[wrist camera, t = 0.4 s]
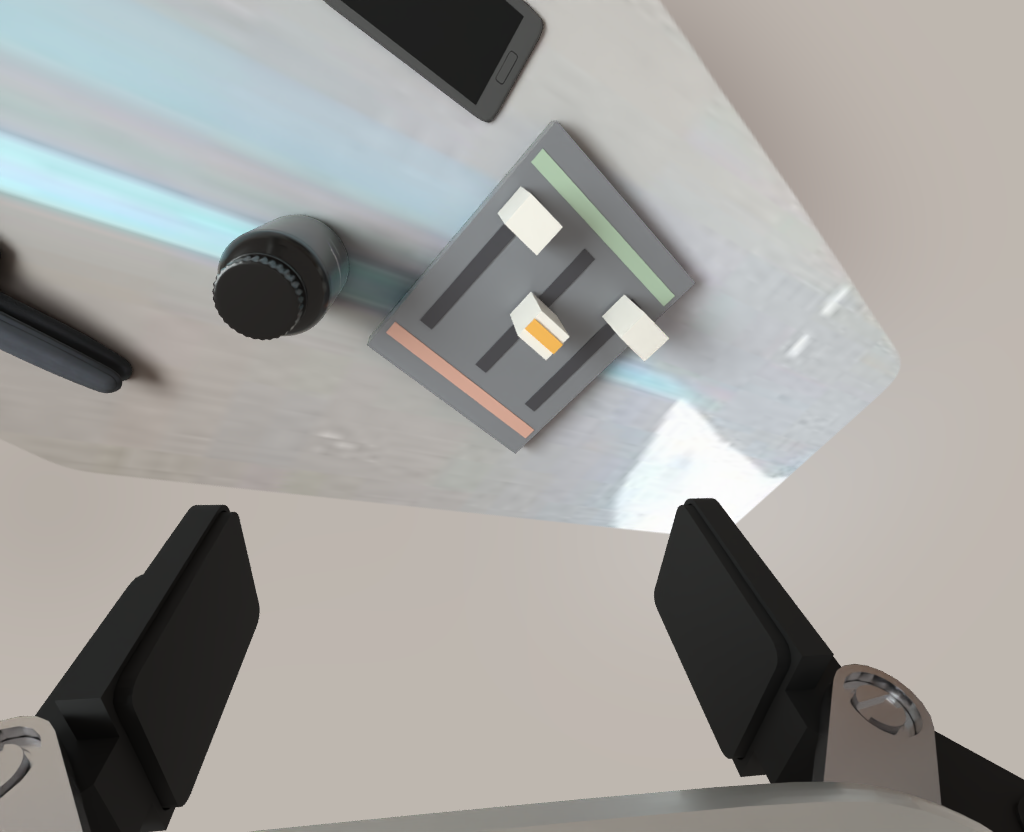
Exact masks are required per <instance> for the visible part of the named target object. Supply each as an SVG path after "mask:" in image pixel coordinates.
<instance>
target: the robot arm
mask: <svg viewBox="0 0 1024 832" xmlns="http://www.w3.org/2000/svg"><path fill="white" fill-rule="evenodd" d="M654 600H655V604H656V607H657V609H658V612H659V614H660V616H661V618H662V621H663V623H664V625H665V627H666V630H667V632H668V634H669V636H670V638H671V641H672V643H673V645H674V647H675V649H676V652H677V653H678V656H679V658H680V660H681V663H682V665H683V667H684V669H685V671H686V674H687V676H688V678H689V680H690V683H691V685H692V687H693V689H694V691H695V694H696V696H697V698H698V700H699V702H700V705H701V707H702V709H703V711H704V713H705V716H706V718H707V720H708V722H709V724H710V727H711V729H712V731H713V733H714V735H715V738H716V740H717V742H718V744H719V746H720V749H721V751H722V752H723V754H724V755H725V756H726V757H727V758H728V759H733V761H734V764H735V766H736V768H737V770H738V772H739V774H740V776H741V777H745V776H756V775H767V777H768V779H769V781H770V783H771V784H757V785H743V786H729V787H714V788H702V789H691V790H680V791H669V792H658V793H648V794H635V795H625V796H614V797H602V798H591V799H579V800H569V801H559V802H548V803H538V804H526V805H517V806H505V807H494V808H484V809H475V810H474V809H473V810H463V811H453V812H443V813H433V814H421V815H411V816H401V817H391V818H381V819H371V820H361V821H352V822H342V823H332V824H321V825H312V826H302V827H292V828H281V829H272V830H261V831H253V832H1024V780H1023V779H1021V778H1020V777H1018V776H1016V775H1014V774H1013V773H1011V772H1009V771H1007V770H1005V769H1003V768H1001V767H1000V766H998V765H996V764H994V763H992V762H991V761H989V760H986V759H985V758H983V757H981V756H980V755H978V754H976V753H974V752H972V751H970V750H969V749H967V748H965V747H963V746H961V745H959V744H957V743H956V742H954V741H952V740H950V739H948V738H947V737H945V736H943V735H941V734H939V733H937V732H936V731H934V726H933V723H932V720H931V716H930V714H929V713H928V711H927V710H926V708H925V707H924V705H923V703H922V702H921V701H920V700H919V699H918V698H917V697H916V696H915V695H914V694H913V692H912V691H911V690H910V689H908V688H907V687H906V686H904V685H903V684H902V683H900V682H899V681H898V680H897V679H895V678H893V677H892V676H890V675H888V674H886V673H884V672H883V671H880V670H878V669H875V668H872V667H869V666H865V665H859V664H851V665H845V666H843V667H841V666H840V665H839V664H838V662H837V661H836V659H835V658H834V657H833V655H834V654H833V653H832V651H831V650H830V649H829V648H828V646H827V645H826V644H825V642H824V641H823V640H822V638H821V637H820V636H819V634H818V633H817V632H816V630H815V629H814V628H813V626H812V625H811V624H810V622H809V621H808V620H807V619H806V617H805V616H804V615H803V613H802V612H801V611H800V609H799V608H798V607H797V605H796V604H795V603H794V601H793V600H792V599H791V597H790V596H789V595H788V593H787V592H786V591H785V590H784V588H783V587H782V586H781V584H780V583H779V582H778V580H777V579H776V578H775V576H774V575H773V574H772V572H771V571H770V570H769V568H768V567H767V566H766V565H765V563H764V562H763V561H762V559H761V558H760V557H759V555H758V554H757V553H756V551H755V550H754V549H753V547H752V546H751V545H750V543H749V542H748V541H747V540H746V538H745V537H744V535H743V534H742V533H741V531H740V530H739V529H738V528H737V526H736V525H735V524H734V522H733V521H732V520H731V518H730V517H729V516H728V514H727V513H726V512H725V510H724V509H723V508H722V506H721V505H720V504H719V502H718V501H717V500H715V499H713V498H697V499H687V500H686V502H685V503H684V505H681V506H679V507H678V509H677V512H676V515H675V519H674V523H673V526H672V530H671V533H670V537H669V540H668V544H667V547H666V551H665V555H664V558H663V562H662V565H661V569H660V573H659V576H658V580H657V583H656V587H655V591H654ZM258 619H259V603H258V598H257V594H256V589H255V585H254V580H253V576H252V572H251V567H250V563H249V558H248V554H247V550H246V545H245V541H244V537H243V532H242V528H241V524H240V519H239V516H238V514H237V513H236V512H230V511H229V508H228V507H227V506H226V505H195V506H192V507H191V508H190V509H189V510H188V512H187V513H186V514H185V516H184V517H183V519H182V520H181V522H180V523H179V524H178V526H177V527H176V529H175V530H174V532H173V533H172V534H171V536H170V537H169V539H168V540H167V541H166V543H165V544H164V546H163V547H162V549H161V550H160V551H159V553H158V554H157V556H156V557H155V559H154V560H153V561H152V563H151V564H150V566H149V567H148V568H147V570H146V571H145V573H144V574H143V575H140V576H139V577H137V578H135V579H134V580H133V581H132V582H131V584H130V585H129V586H128V587H127V589H126V590H125V591H124V593H123V594H122V596H121V597H120V599H119V600H118V601H117V602H116V604H115V605H114V607H113V608H112V609H111V611H110V612H109V614H108V615H107V617H106V618H105V619H104V621H103V622H102V623H101V625H100V626H99V628H98V629H97V631H96V632H95V633H94V635H93V636H92V637H91V639H90V640H89V642H88V643H87V644H86V646H85V647H84V648H83V650H82V651H81V653H80V654H79V655H78V657H77V658H76V660H75V661H74V662H73V664H72V665H71V666H70V668H69V669H68V671H67V672H66V673H65V675H64V676H63V678H62V679H61V680H60V682H59V683H58V685H57V686H56V687H55V689H54V690H53V691H52V693H51V694H50V696H49V697H48V699H47V700H46V701H45V703H44V704H43V705H42V707H41V708H40V710H39V711H38V712H37V714H36V715H35V716H20V717H15V718H11V719H7V720H2V721H0V832H153V831H163V830H166V829H167V827H168V824H169V822H170V819H171V817H172V814H173V812H174V809H175V807H181V806H183V805H184V804H185V803H186V802H187V800H188V798H189V796H190V794H191V791H192V789H193V786H194V784H195V781H196V779H197V776H198V774H199V771H200V769H201V766H202V763H203V761H204V758H205V756H206V753H207V751H208V748H209V745H210V743H211V740H212V738H213V735H214V733H215V730H216V728H217V725H218V723H219V720H220V718H221V715H222V713H223V710H224V707H225V705H226V703H227V700H228V697H229V695H230V692H231V690H232V687H233V685H234V682H235V680H236V677H237V675H238V672H239V669H240V667H241V664H242V662H243V659H244V657H245V654H246V652H247V649H248V647H249V644H250V641H251V639H252V636H253V634H254V631H255V629H256V626H257V623H258Z"/></svg>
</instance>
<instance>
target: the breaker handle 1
mask: <svg viewBox="0 0 1024 832" xmlns="http://www.w3.org/2000/svg"><path fill="white" fill-rule="evenodd" d="M498 215H499V216H500V218H501V219H502V221H503V222H504V224H505V225H506V226H507V227H508V228H509V229H510V230H511V231H512V232H513V233H514V234H515V235H516V236H517V237H518V238H519V239H520V240H521V241H522V242H523V243H524V244H525V245H526V246H528V247H529V248H530V249H531V250H532V251H533V252H534V253H535V254H536V255H538V254H539V253H540V251H541V250H542V249H543V248H544V247H545V246H546V245H547V244H548V243H549V242H550V241H551V239H552V238H553V237H554V236H555V235H556V234H557V233H558V232H559V231H560V230H561V228H562V226H561V224H560V223H559V222H558V221H557V220H556V219H555V218H554V217H553V216H552V215H551V214H550V213H549V212H548V211H547V210H546V209H545V208H544V207H543V206H542V205H541V203H540V202H539V201H538V200H537V199H536V198H535V197H534V196H533V195H532V194H531V193H529V192H528V191H527V190H525V189H524V188H522V187H521V186H520V188H519V189H518V190H517V191H516V192H515V193H514V195H513V196H512V197H511V198H510V199H509V200H508V202H507V203H506V204H505V205H504V206H503V207H502V209H501V210H500V211H499V212H498Z"/></svg>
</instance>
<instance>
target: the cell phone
mask: <svg viewBox="0 0 1024 832" xmlns="http://www.w3.org/2000/svg"><path fill="white" fill-rule="evenodd" d="M323 1H325V2H326V3H327V4H328V5H329V6H331V7H332V8H333V9H334V10H336V11H337V12H338V13H340V14H341V15H342V16H344V17H345V18H346V19H348V20H349V21H350V22H352V23H353V24H354V25H356V26H357V27H358V28H359V29H361V30H362V31H363V32H365V33H366V34H367V35H369V36H370V37H371V38H373V39H374V40H375V41H377V42H378V43H379V44H381V45H382V46H383V47H384V48H386V49H387V50H388V51H390V52H391V53H392V54H394V55H395V56H396V57H398V58H399V59H400V60H402V61H403V62H404V63H406V64H407V65H408V66H409V67H411V68H412V69H413V70H415V71H416V72H417V73H419V74H420V75H421V76H423V77H424V78H425V79H427V80H428V81H429V82H431V83H432V84H433V85H434V86H436V87H437V88H438V89H440V90H441V91H442V92H444V93H445V94H446V95H448V96H449V97H450V98H452V99H453V100H454V101H456V102H457V103H458V104H460V105H461V106H462V107H463V108H465V109H466V110H467V111H469V112H470V113H471V114H473V115H474V116H476V117H477V118H479V119H480V120H482V121H484V122H490V121H491V120H492V119H493V118H494V117H495V116H496V114H497V113H498V111H499V110H500V108H501V106H502V104H503V102H504V101H505V99H506V97H507V95H508V93H509V92H510V90H511V88H512V86H513V85H514V83H515V81H516V79H517V77H518V76H519V74H520V72H521V70H522V68H523V67H524V65H525V63H526V61H527V59H528V58H529V56H530V54H531V52H532V51H533V49H534V47H535V45H536V43H537V42H538V40H539V38H540V35H541V33H542V30H543V22H542V19H541V18H540V17H539V16H538V15H537V14H536V13H535V11H534V10H533V9H532V8H531V7H530V6H529V5H528V4H526V3H525V2H524V1H523V0H323Z"/></svg>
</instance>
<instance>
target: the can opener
mask: <svg viewBox="0 0 1024 832" xmlns="http://www.w3.org/2000/svg"><path fill="white" fill-rule="evenodd" d="M0 256H1V252H0ZM0 349H1V350H3V351H5V352H7V353H9V354H12V355H13V356H16V357H18V358H20V359H22V360H24V361H26V362H29V363H31V364H33V365H35V366H38V367H40V368H42V369H44V370H46V371H49V372H51V373H53V374H56V375H58V376H61V377H63V378H65V379H68V380H70V381H73V382H75V383H78V384H80V385H83V386H85V387H88V388H90V389H93V390H96V391H98V392H102V393H112V392H115V391H117V390H119V389H120V388H121V386H122V381H124V380H127V379H128V378H130V376H131V375H132V367H131V365H130V364H129V362H128V361H127V360H125V359H124V358H122V357H121V356H119V355H118V354H116V353H115V352H113V351H112V350H110V349H108V348H106V347H105V346H103V345H102V344H100V343H98V342H97V341H95V340H93V339H91V338H89V337H88V336H86V335H84V334H82V333H80V332H79V331H77V330H75V329H73V328H71V327H69V326H67V325H65V324H63V323H61V322H59V321H57V320H56V319H54V318H51V317H50V316H47V315H45V314H43V313H41V312H39V311H37V310H36V309H33V308H31V307H29V306H27V305H25V304H23V303H21V302H19V301H17V300H15V299H13V298H11V297H9V296H7V295H5V294H4V293H2V292H0Z"/></svg>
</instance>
